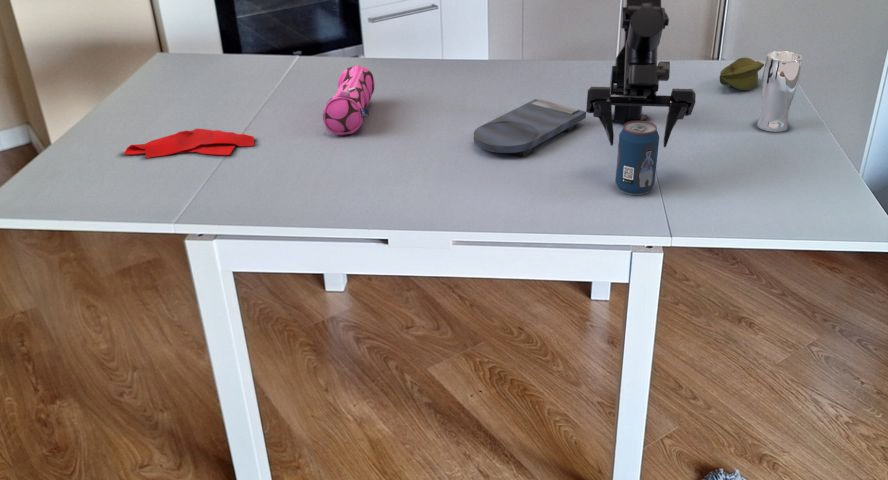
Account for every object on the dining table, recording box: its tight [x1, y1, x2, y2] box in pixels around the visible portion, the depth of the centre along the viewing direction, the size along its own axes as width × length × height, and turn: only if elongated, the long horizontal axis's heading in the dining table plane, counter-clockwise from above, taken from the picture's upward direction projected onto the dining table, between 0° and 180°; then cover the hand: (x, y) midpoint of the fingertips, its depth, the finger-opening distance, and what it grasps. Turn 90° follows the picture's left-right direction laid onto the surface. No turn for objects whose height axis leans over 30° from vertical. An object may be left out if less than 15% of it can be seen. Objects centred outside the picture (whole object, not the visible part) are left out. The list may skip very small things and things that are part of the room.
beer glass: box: [756, 50, 803, 133], centre depth 183 cm, size 7×7×15 cm
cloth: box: [123, 128, 255, 159], centre depth 187 cm, size 26×14×2 cm, turn 89°
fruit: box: [719, 57, 765, 91], centre depth 207 cm, size 11×12×7 cm
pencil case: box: [322, 64, 375, 136], centre depth 195 cm, size 21×10×10 cm, turn 178°
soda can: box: [615, 120, 660, 196], centre depth 161 cm, size 7×7×12 cm
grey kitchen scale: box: [473, 98, 587, 157], centre depth 185 cm, size 26×13×3 cm, turn 140°
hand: (638, 145), depth 159 cm, fingers open, 9 cm apart
